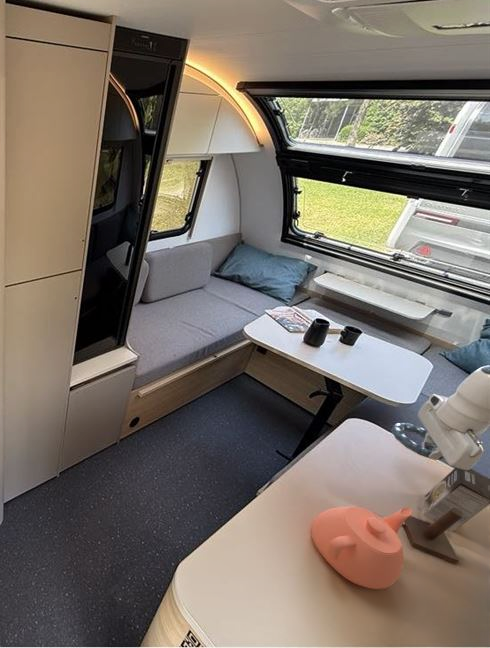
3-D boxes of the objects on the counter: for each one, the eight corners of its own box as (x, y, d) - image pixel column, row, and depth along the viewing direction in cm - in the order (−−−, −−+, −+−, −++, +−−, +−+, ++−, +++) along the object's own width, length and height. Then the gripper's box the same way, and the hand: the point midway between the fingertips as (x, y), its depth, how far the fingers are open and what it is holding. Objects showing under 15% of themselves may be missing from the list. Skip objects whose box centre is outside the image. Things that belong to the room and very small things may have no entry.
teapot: (348, 507, 100) (376, 478, 93) (418, 573, 86) (456, 545, 80) (283, 531, 92) (308, 502, 85) (349, 608, 79) (384, 580, 72)
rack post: (438, 530, 96) (471, 504, 90) (455, 564, 89) (492, 538, 83) (397, 514, 99) (426, 488, 93) (411, 546, 92) (443, 519, 86)
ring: (433, 436, 108) (438, 431, 107) (455, 468, 98) (461, 462, 97) (383, 421, 112) (388, 415, 111) (399, 450, 102) (404, 444, 101)
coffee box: (421, 496, 105) (459, 462, 97) (451, 513, 101) (493, 479, 93) (419, 516, 99) (459, 482, 91) (451, 535, 95) (495, 500, 87)
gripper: (502, 452, 84) (462, 487, 91) (457, 398, 100) (426, 431, 107) (468, 442, 86) (431, 477, 93) (429, 390, 102) (400, 423, 109)
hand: (428, 452), depth 100 cm, fingers closed on ring, 2 cm apart
